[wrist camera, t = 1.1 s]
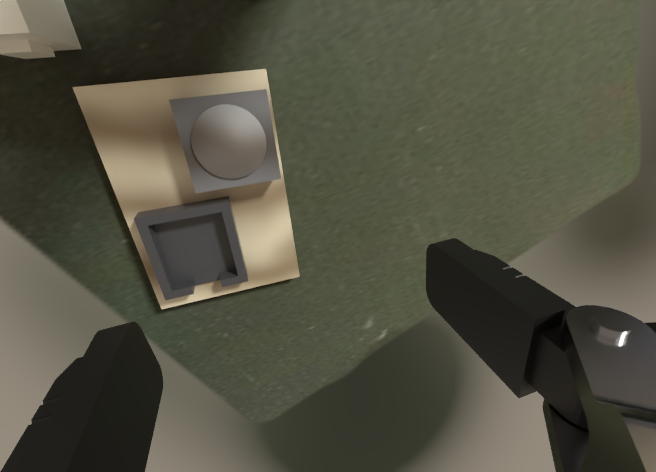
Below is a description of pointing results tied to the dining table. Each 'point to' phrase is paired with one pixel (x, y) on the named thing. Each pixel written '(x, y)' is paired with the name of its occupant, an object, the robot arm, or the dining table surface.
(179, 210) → the frame
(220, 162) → the board
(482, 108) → the dining table surface
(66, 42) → the plug
